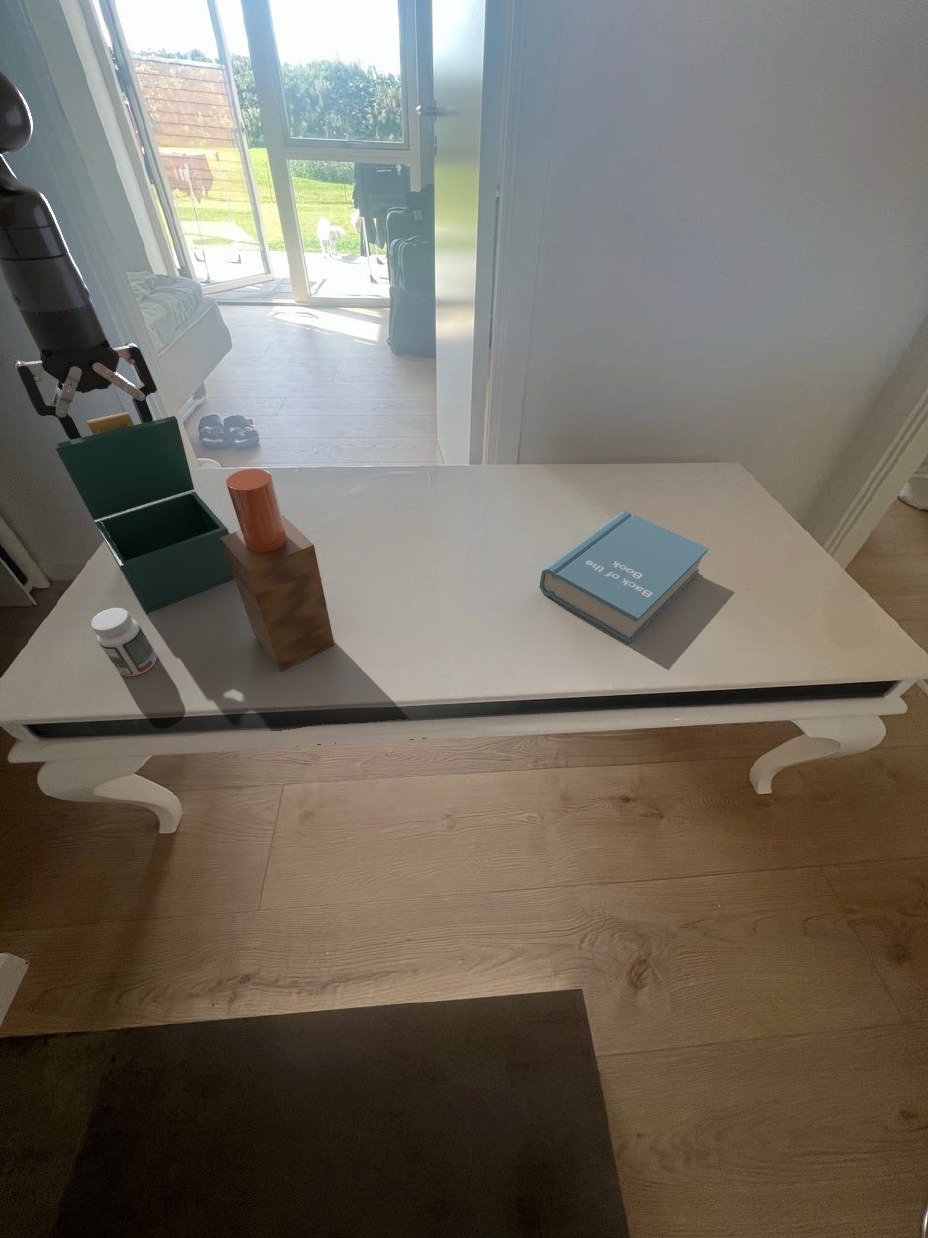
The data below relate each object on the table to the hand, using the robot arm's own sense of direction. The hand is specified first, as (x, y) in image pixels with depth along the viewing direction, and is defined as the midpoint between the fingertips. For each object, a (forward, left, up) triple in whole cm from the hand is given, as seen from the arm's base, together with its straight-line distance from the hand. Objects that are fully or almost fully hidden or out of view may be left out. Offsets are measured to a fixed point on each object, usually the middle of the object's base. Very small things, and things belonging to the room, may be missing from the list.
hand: (114, 433), depth 73 cm
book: (+54, -52, -20) cm, 78 cm away
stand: (+7, -32, -20) cm, 38 cm away
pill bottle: (-11, -23, -20) cm, 33 cm away
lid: (0, -3, -4) cm, 6 cm away
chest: (0, -7, -20) cm, 21 cm away
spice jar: (+7, -32, -3) cm, 33 cm away
